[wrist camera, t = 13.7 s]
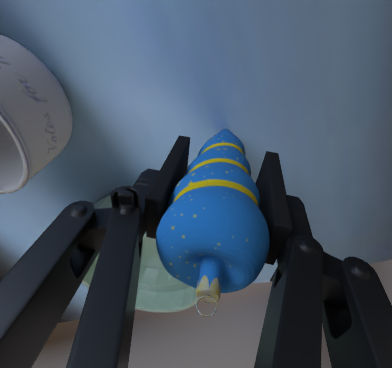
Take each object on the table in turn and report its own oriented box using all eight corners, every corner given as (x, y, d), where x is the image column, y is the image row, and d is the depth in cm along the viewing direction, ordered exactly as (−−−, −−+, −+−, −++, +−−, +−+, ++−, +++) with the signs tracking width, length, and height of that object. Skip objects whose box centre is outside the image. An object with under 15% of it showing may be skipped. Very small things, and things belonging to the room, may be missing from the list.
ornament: (195, 103, 19) (107, 262, 7) (261, 100, 18) (287, 280, 6) (201, 158, 22) (146, 334, 10) (257, 158, 21) (270, 355, 9)
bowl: (74, 235, 33) (49, 270, 29) (119, 164, 24) (91, 198, 20) (168, 286, 37) (157, 323, 33) (237, 242, 28) (235, 285, 24)
